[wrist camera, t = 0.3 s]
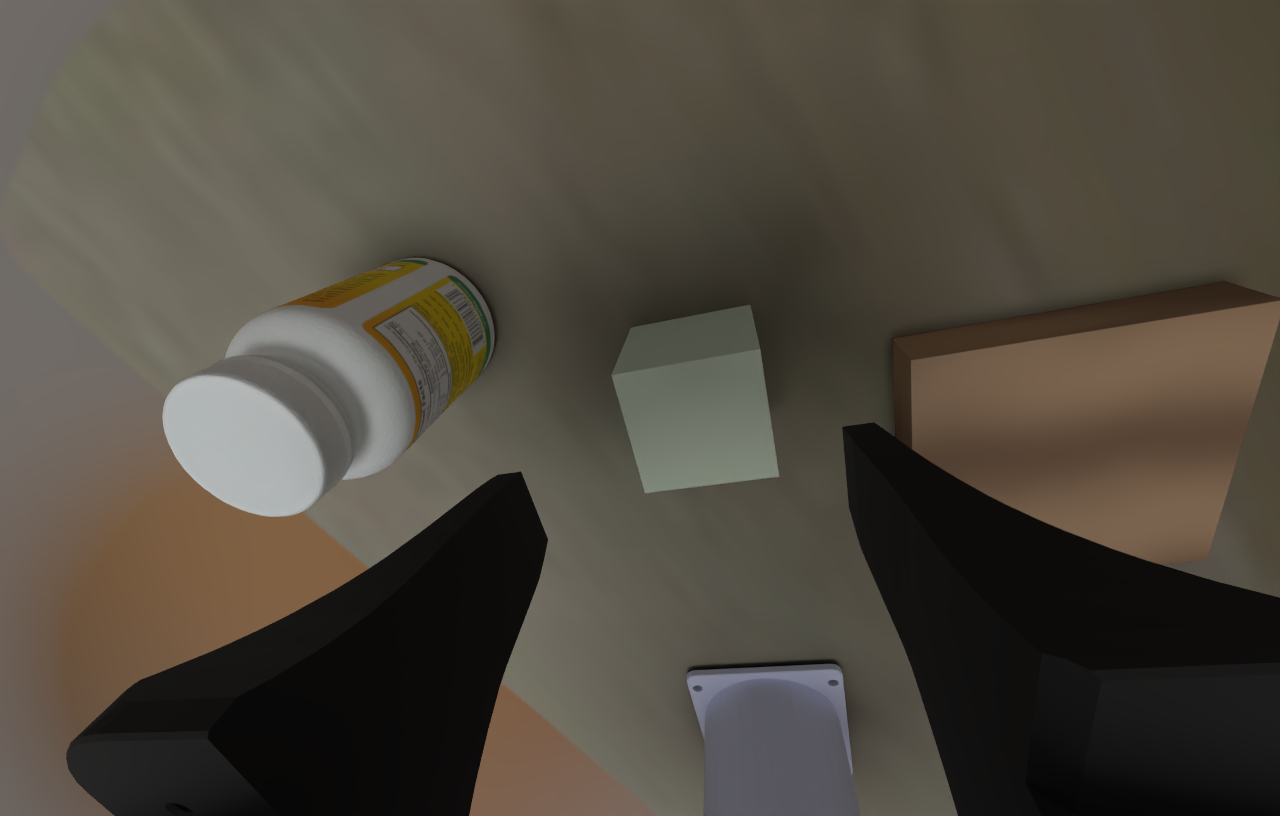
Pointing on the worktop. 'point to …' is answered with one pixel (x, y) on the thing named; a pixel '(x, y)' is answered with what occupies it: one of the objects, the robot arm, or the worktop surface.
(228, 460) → the supplement bottle
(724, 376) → the sage block
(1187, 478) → the brown square pad
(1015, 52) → the worktop surface
